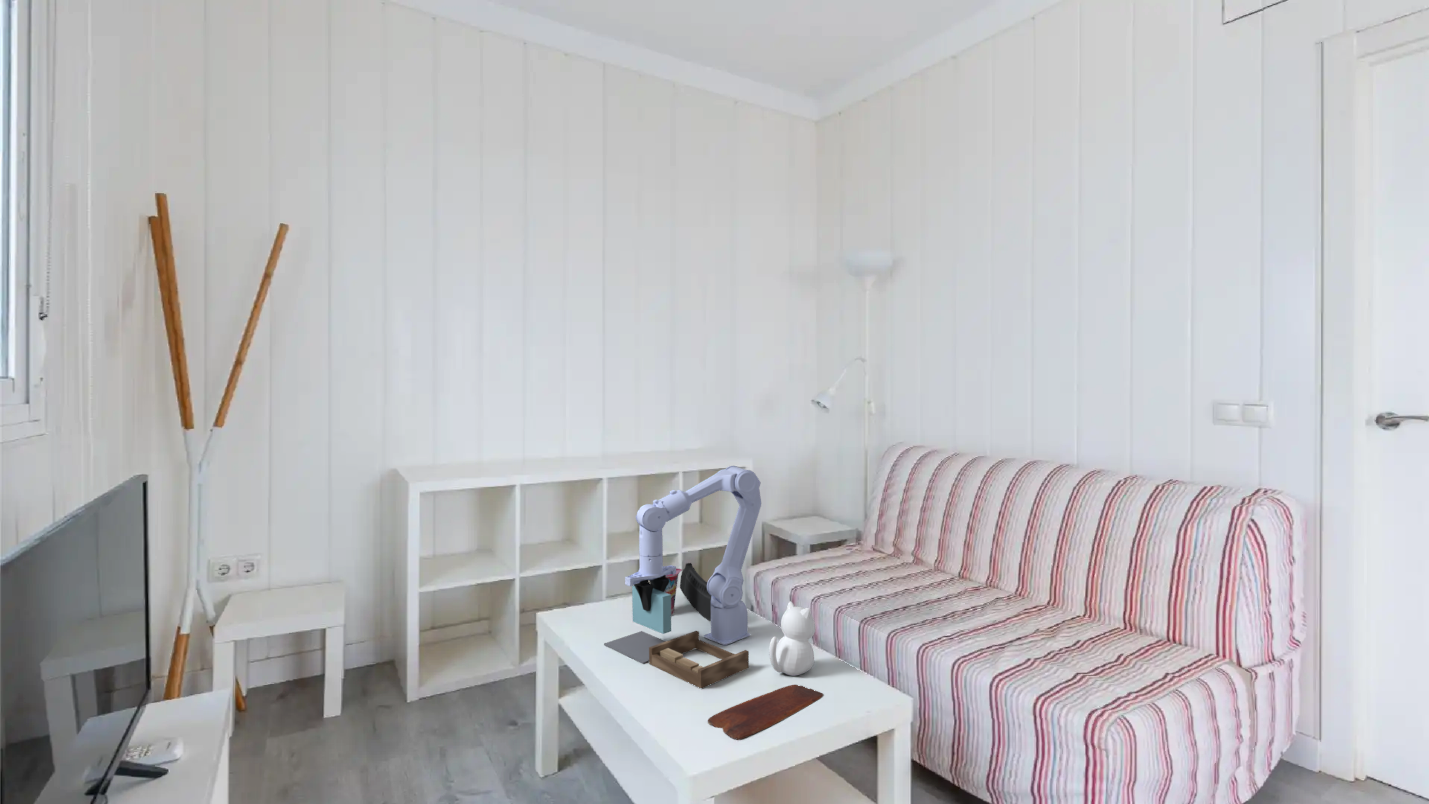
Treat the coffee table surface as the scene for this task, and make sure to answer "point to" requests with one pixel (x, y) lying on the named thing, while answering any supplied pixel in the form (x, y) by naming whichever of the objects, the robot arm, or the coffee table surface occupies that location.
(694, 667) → the offcuts
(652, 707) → the coffee table surface
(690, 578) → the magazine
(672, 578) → the cup
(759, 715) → the wooden tablet
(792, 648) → the cat figurine
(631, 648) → the mat
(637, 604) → the teal rectangular block
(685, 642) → the rack
